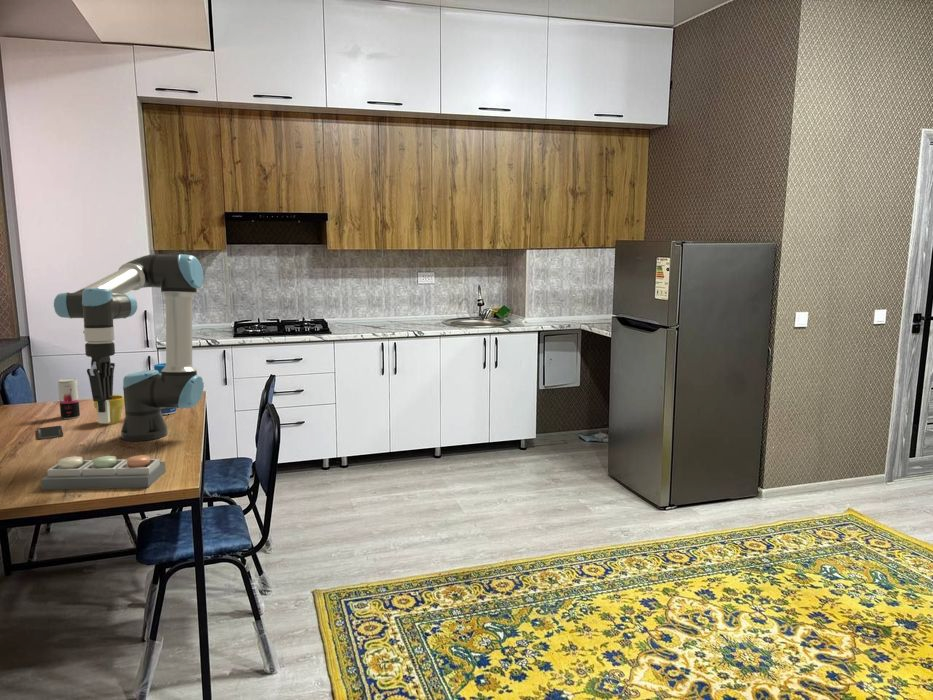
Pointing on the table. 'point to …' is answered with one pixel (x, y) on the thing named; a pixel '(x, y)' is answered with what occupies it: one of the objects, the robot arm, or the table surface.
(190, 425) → the table surface
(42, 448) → the table surface
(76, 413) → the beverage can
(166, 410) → the beverage bottle
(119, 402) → the plant pot
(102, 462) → the sage button
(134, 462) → the terracotta button
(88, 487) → the button panel
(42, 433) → the phone
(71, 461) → the cream button
